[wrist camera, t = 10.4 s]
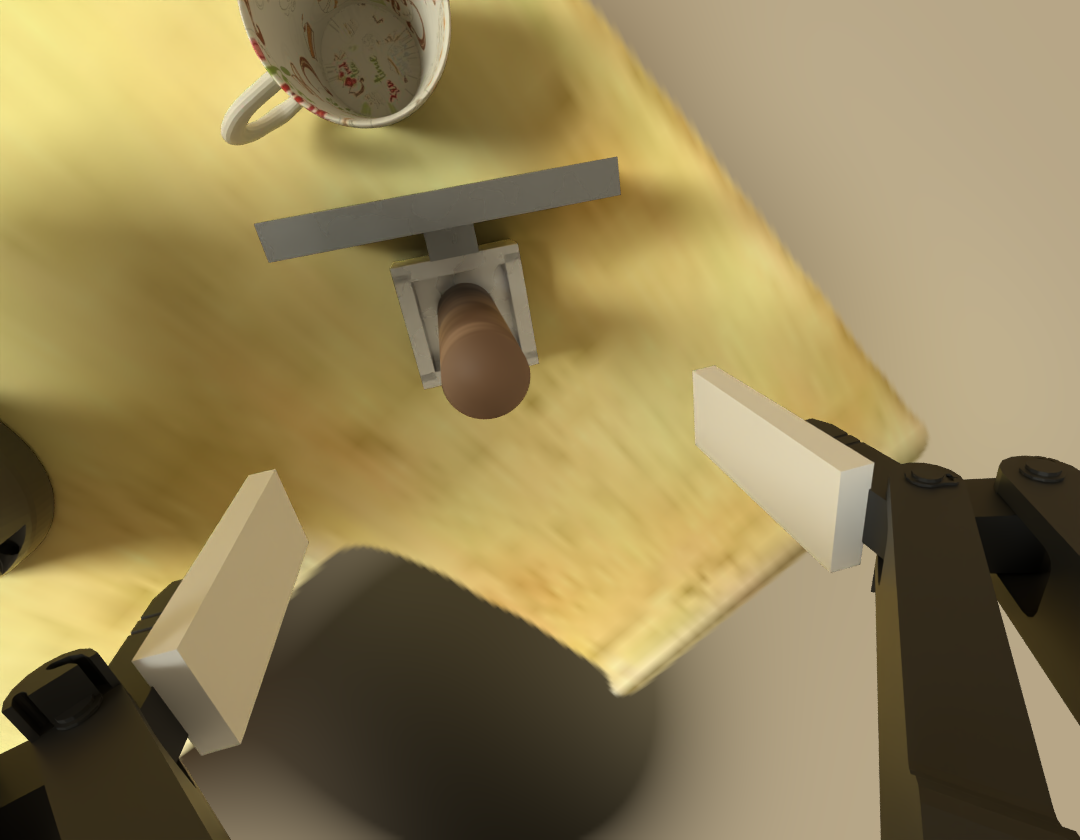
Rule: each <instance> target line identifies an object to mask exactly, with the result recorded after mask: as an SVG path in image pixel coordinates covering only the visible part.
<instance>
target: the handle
mask: <svg viewBox="0 0 1080 840" xmlns="http://www.w3.org/2000/svg"><path fill="white" fill-rule="evenodd" d="M437 314H438V332H439V349H440V367H441V383H442V388H443V391H444V394H445V396H446V398H447V399H448V401H449V402H450V404H451V405H452V406H453V407H454V408H455V409H457V410H458V411H459V412H461V413H463V414H465V415H467V416H469V417H473V418H477V419H492V418H497V417H500V416H503V415H505V414H507V413H509V412H510V411H512V410H513V409H514V408H516V407H517V406H518V405H519V404H520V402H521V401H522V400H523V398H524V397H525V395H526V393H527V391H528V387H529V384H530V368H529V364H528V361H527V359H526V357H525V355H524V353H523V352H522V350H521V348H520V346H519V345H518V343H517V341H516V339H515V338H514V336H513V334H512V332H511V331H510V329H509V327H508V325H507V324H506V322H505V320H504V318H503V317H502V315H501V313H500V311H499V310H498V308H497V306H496V304H495V303H494V301H493V299H492V297H491V296H490V294H489V293H488V292H487V291H486V290H485V289H484V288H482V287H480V286H479V285H476V284H473V283H459V284H456V285H453V286H452V287H450V288H449V289H447V290H446V291H445V292H444V293H443V295H442V296H441V298H440V300H439V303H438V308H437Z"/></svg>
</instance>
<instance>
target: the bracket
mask: <svg viewBox="0 0 1080 840" xmlns="http://www.w3.org/2000/svg"><path fill="white" fill-rule="evenodd" d="M617 195H621V192H620V181H619V170H618V159H617V157H612V158H607V159H601V160H596V161H590V162H585V163H579V164H574V165H568V166H563V167H557V168H552V169H547V170H541V171H536V172H530V173H525V174H520V175H514V176H509V177H503V178H498V179H493V180H487V181H482V182H476V183H471V184H466V185H460V186H455V187H449V188H444V189H438V190H433V191H428V192H422V193H417V194H411V195H406V196H401V197H395V198H390V199H384V200H379V201H374V202H368V203H363V204H357V205H352V206H347V207H341V208H336V209H330V210H325V211H320V212H314V213H309V214H304V215H298V216H293V217H288V218H282V219H277V220H272V221H266V222H261V223H256V224H254V226H255V228H256V231H257V233H258V236H259V239H260V241H261V244H262V246H263V249H264V252H265V254H266V257H267V259H268V262H269V263H270V262H275V261H281V260H286V259H291V258H296V257H301V256H306V255H312V254H317V253H322V252H327V251H332V250H337V249H343V248H348V247H353V246H358V245H363V244H369V243H374V242H379V241H384V240H389V239H394V238H400V237H405V236H410V235H415V234H420V233H423V234H424V238H425V242H426V246H427V250H428V254H429V255H426V256H421V257H416V258H411V259H406V260H400V261H395V262H393V264H392V266H391V268H390V272H391V275H392V279H393V282H394V286H395V289H396V293H397V296H398V300H399V303H400V307H401V310H402V314H403V317H404V321H405V324H406V328H407V331H408V335H409V338H410V342H411V345H412V349H413V352H414V356H415V359H416V363H417V366H418V370H419V373H420V377H421V380H422V384H423V387H424V389H428V388H432V387H437V386H441V385H442V383H441V367H440V349H439V332H438V314H437V308H438V303H439V300H440V298H441V296H442V295H443V293H444V292H445V291H446V290H447V289H449V288H450V287H452V286H453V285H456V284H459V283H473V284H476V285H479V286H480V287H482V288H484V289H485V290H486V291H487V292H488V293H489V294H490V296H491V297H492V299H493V301H494V303H495V304H496V306H497V308H498V310H499V311H500V313H501V315H502V317H503V318H504V320H505V322H506V324H507V325H508V327H509V329H510V331H511V332H512V334H513V336H514V338H515V339H516V341H517V343H518V345H519V346H520V348H521V350H522V352H523V353H524V355H525V357H526V359H527V361H528V364H529V366H530V365H534V364H539V361H538V355H537V349H536V344H535V338H534V332H533V327H532V321H531V315H530V310H529V304H528V298H527V293H526V287H525V281H524V276H523V270H522V264H521V259H520V253H519V247H518V243H516V242H514V241H513V240H511V239H507V240H501V241H496V242H491V243H486V244H481V245H478V244H477V239H476V234H475V230H474V225H473V223H477V222H482V221H487V220H493V219H498V218H503V217H508V216H513V215H519V214H524V213H529V212H534V211H539V210H544V209H550V208H555V207H560V206H565V205H570V204H575V203H581V202H586V201H591V200H596V199H601V198H606V197H612V196H617Z"/></svg>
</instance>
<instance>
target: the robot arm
mask: <svg viewBox="0 0 1080 840" xmlns="http://www.w3.org/2000/svg"><path fill="white" fill-rule="evenodd" d="M693 396H694V423H695V445H696V446H697V447H698V448H699V449H700V450H701V451H702V452H703V453H704V454H705V455H706V456H708V457H709V458H710V459H711V460H712V461H713V462H714V463H715V464H716V465H717V466H718V467H719V468H720V469H721V470H722V471H723V472H724V473H725V474H726V475H727V476H729V477H730V478H731V479H732V480H733V481H734V482H735V483H736V484H737V485H738V486H739V487H740V488H741V489H742V490H743V491H744V492H745V493H746V494H747V495H749V496H750V497H751V498H752V499H753V500H754V501H755V502H756V503H757V504H758V505H759V506H760V507H761V508H762V509H763V510H764V511H765V512H766V513H767V514H768V515H770V516H771V517H772V518H773V519H774V520H775V521H776V522H777V523H778V524H779V525H780V526H781V527H782V528H783V529H784V530H785V531H786V532H787V533H788V534H790V535H791V536H792V537H793V538H794V539H795V540H796V541H797V542H798V543H799V544H800V545H801V546H802V547H803V548H804V549H805V550H806V551H807V552H808V553H810V554H811V555H812V556H813V557H814V558H815V559H816V560H817V561H818V562H819V563H820V564H821V565H822V566H823V567H824V568H825V569H826V570H828V572H830V573H832V572H836V571H840V570H843V569H846V568H850V567H853V566H857V565H860V563H861V556H862V548H863V543H864V544H865V545H866V546H868V547H869V548H870V549H871V550H873V551H874V552H875V553H876V554H877V556H876V563H875V569H874V575H873V582H872V588H871V592H875V595H876V637H877V638H876V639H877V683H878V685H877V687H878V731H879V778H880V821H881V840H1080V837H1079V835H1078V834H1077V832H1076V831H1073V830H1070V829H1068V828H1065V827H1062V826H1061V824H1060V823H1059V821H1058V820H1057V817H1056V814H1055V812H1054V809H1053V805H1052V802H1051V798H1050V794H1049V791H1048V787H1047V783H1046V779H1045V776H1044V772H1043V768H1042V765H1041V761H1040V758H1039V753H1038V750H1037V746H1036V742H1035V739H1034V735H1033V731H1032V728H1031V724H1030V720H1029V717H1028V713H1027V709H1026V705H1025V702H1024V698H1023V694H1022V690H1021V687H1020V683H1019V679H1018V676H1017V672H1016V668H1015V665H1014V661H1013V657H1012V653H1011V650H1010V646H1009V642H1008V639H1007V635H1006V632H1005V627H1004V624H1003V620H1002V617H1001V613H1000V609H999V605H998V602H999V604H1000V605H1001V607H1002V608H1003V610H1004V611H1005V612H1006V614H1007V616H1008V617H1009V619H1010V620H1011V622H1012V623H1013V625H1014V626H1015V628H1016V629H1017V631H1018V632H1019V634H1020V635H1021V637H1022V639H1023V640H1024V642H1025V643H1026V645H1027V646H1028V648H1029V649H1030V651H1031V652H1032V654H1033V655H1034V657H1035V658H1036V660H1037V661H1038V663H1039V664H1040V666H1041V667H1042V669H1043V670H1044V672H1045V673H1046V675H1047V677H1048V678H1049V680H1050V681H1051V683H1052V684H1053V686H1054V687H1055V689H1056V690H1057V692H1058V693H1059V695H1060V696H1061V698H1062V699H1063V701H1064V702H1065V704H1066V705H1067V707H1068V708H1069V710H1070V712H1071V713H1072V715H1073V716H1074V718H1075V719H1076V720H1077V722H1078V724H1079V725H1080V471H1079V470H1078V469H1076V468H1074V467H1073V466H1071V465H1068V464H1065V463H1063V462H1060V461H1058V460H1055V459H1051V458H1046V457H1041V456H1016V457H1010V458H1007V459H1005V460H1002V462H1001V464H1000V465H999V469H998V472H997V476H996V478H989V479H988V478H987V479H967V480H963V479H962V477H961V476H959V475H958V474H956V473H955V472H953V471H951V470H949V469H946V468H943V467H941V466H938V465H932V464H927V463H905V464H900V463H898V462H896V461H895V460H893V459H891V458H889V457H888V456H886V455H884V454H882V453H881V452H879V451H877V450H876V449H874V448H872V447H870V446H869V445H867V444H865V443H863V442H862V443H861V442H860V440H858V439H857V438H855V437H853V436H851V435H848V434H847V433H846V432H844V431H843V430H841V429H839V428H838V427H836V426H834V425H832V424H829V423H826V422H822V421H819V420H816V419H808V420H803V419H802V418H800V417H798V416H797V415H795V414H793V413H792V412H790V411H788V410H787V409H785V408H784V407H782V406H780V405H779V404H777V403H775V402H774V401H772V400H770V399H769V398H767V397H766V396H764V395H762V394H761V393H759V392H757V391H756V390H754V389H752V388H751V387H749V386H748V385H746V384H744V383H743V382H741V381H739V380H738V379H736V378H734V377H733V376H731V375H729V374H728V373H726V372H725V371H723V370H721V369H720V368H718V367H716V366H710V367H706V368H702V369H698V370H693ZM53 515H54V497H53V491H52V487H51V484H50V481H49V479H48V476H47V474H46V472H45V470H44V468H43V466H42V465H41V463H40V462H39V460H38V459H37V457H36V456H35V454H34V453H33V452H32V451H31V450H30V448H29V447H28V446H27V445H26V444H25V443H24V442H23V441H22V440H21V439H20V438H19V437H18V436H17V435H16V434H15V433H14V432H13V431H11V430H10V429H9V428H8V427H6V426H5V425H4V424H2V423H1V422H0V578H1V577H2V576H4V575H5V574H7V573H8V572H10V571H11V570H12V569H13V568H15V567H16V566H17V565H18V564H19V563H20V562H21V561H22V560H23V559H25V558H26V557H27V556H28V555H29V554H30V553H31V552H32V551H33V550H35V549H36V548H37V547H38V545H39V544H40V543H41V542H42V541H43V539H44V538H45V536H46V535H47V533H48V531H49V529H50V526H51V523H52V520H53ZM308 543H309V542H308V540H307V537H306V535H305V533H304V531H303V529H302V526H301V524H300V522H299V520H298V518H297V515H296V513H295V511H294V509H293V507H292V504H291V502H290V500H289V498H288V496H287V493H286V491H285V489H284V487H283V485H282V482H281V480H280V478H279V476H278V474H277V471H276V469H273V470H268V471H264V472H260V473H256V474H251V475H248V477H247V478H246V480H245V482H244V483H243V485H242V486H241V488H240V490H239V491H238V493H237V494H236V496H235V498H234V499H233V501H232V502H231V504H230V505H229V507H228V509H227V510H226V512H225V513H224V515H223V517H222V518H221V520H220V521H219V523H218V525H217V526H216V528H215V529H214V531H213V532H212V534H211V536H210V537H209V539H208V540H207V542H206V544H205V545H204V547H203V548H202V550H201V552H200V553H199V555H198V556H197V558H196V559H195V561H194V563H193V564H192V566H191V567H190V569H189V571H188V572H187V574H186V575H185V577H184V579H182V580H178V581H174V582H172V583H171V584H169V585H168V586H167V587H166V588H165V589H164V590H163V591H162V592H161V593H160V594H158V595H157V596H156V597H155V598H154V599H153V600H152V602H151V603H150V605H149V606H148V608H147V609H146V611H145V612H144V614H143V615H142V617H141V620H140V621H138V623H137V624H136V625H135V627H134V628H133V630H132V631H131V635H130V636H128V637H127V639H126V640H125V642H124V643H123V645H122V646H121V648H120V649H119V651H118V652H117V654H116V655H115V657H114V658H113V660H112V661H111V663H110V664H109V666H108V665H107V664H106V663H105V662H104V660H103V659H102V658H101V656H100V655H99V654H98V653H97V652H96V651H94V650H93V649H91V648H90V649H78V650H74V651H71V652H68V653H65V654H62V655H60V656H58V657H57V658H55V659H53V660H51V661H49V662H47V663H45V664H43V665H42V666H40V667H39V668H38V669H36V670H35V671H33V672H32V673H30V674H29V675H27V676H26V677H25V678H24V679H23V680H22V681H21V682H20V683H19V684H18V685H17V686H15V687H14V688H13V689H12V691H11V692H10V693H9V695H8V696H7V698H6V699H5V700H4V702H3V707H2V713H3V714H4V715H5V716H6V717H7V718H8V719H9V720H10V721H11V723H12V724H13V725H14V726H15V727H16V728H17V729H18V730H19V731H20V732H21V733H22V734H23V735H24V736H25V737H26V738H27V739H28V740H29V741H26V742H24V743H22V744H20V745H18V746H16V747H14V748H12V749H10V750H8V751H6V752H4V753H2V754H0V840H231V839H230V837H229V836H228V834H227V832H226V831H225V829H224V828H223V826H222V824H221V823H220V821H219V820H218V818H217V816H216V815H215V813H214V811H213V810H212V808H211V807H210V805H209V803H208V802H207V800H206V799H205V797H204V795H203V794H202V792H201V790H200V789H199V787H198V785H197V784H196V782H195V781H194V779H193V777H192V776H191V775H190V773H189V771H188V769H187V768H186V766H185V765H184V764H183V763H182V761H181V760H180V759H179V756H180V754H181V751H182V749H183V747H184V745H185V742H186V740H187V738H189V740H190V741H191V743H192V744H193V745H194V747H195V748H196V749H197V751H198V752H199V753H200V755H205V754H208V753H212V752H215V751H219V750H222V749H225V748H229V747H233V746H236V745H239V744H241V741H242V738H243V736H244V733H245V730H246V727H247V724H248V721H249V718H250V715H251V712H252V709H253V706H254V703H255V700H256V697H257V694H258V691H259V688H260V685H261V682H262V679H263V676H264V673H265V671H266V667H267V664H268V662H269V659H270V656H271V653H272V650H273V647H274V644H275V641H276V638H277V635H278V632H279V629H280V626H281V623H282V620H283V617H284V614H285V611H286V608H287V605H288V602H289V600H290V597H291V594H292V591H293V588H294V585H295V582H296V579H297V576H298V573H299V570H300V567H301V564H302V561H303V558H304V555H305V552H306V549H307V546H308ZM997 600H998V602H997Z"/></svg>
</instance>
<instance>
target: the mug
mask: <svg viewBox="0 0 1080 840" xmlns="http://www.w3.org/2000/svg"><path fill="white" fill-rule="evenodd" d="M238 5H239V10H240V14H241V18H242V21H243V24H244V27H245V30H246V33H247V35H248V38H249V40H250V42H251V44H252V46H253V48H254V50H255V52H256V54H257V56H258V58H259V59H260V61H261V63H262V64H263V66H264V67H265V69H266V70H267V72H266V73H264V74H263V75H262V76H261V77H260V78H259V79H258V80H256V81H255V82H254V83H253V84H252V85H251V86H250V87H248V88H247V89H246V90H245V91H244V92H243V93H242V94H241V95H240V96H239V97H238V98H237V99H236V100H235V101H234V102H233V104H232V105H231V106H230V108H229V109H228V111H227V112H226V114H225V116H224V119H223V121H222V125H221V135H222V137H223V139H224V140H225V141H226V142H227V143H229V144H231V145H244V144H247V143H250V142H253V141H256V140H258V139H260V138H261V137H263V136H265V135H266V134H268V133H269V132H271V131H273V130H275V129H276V128H278V127H280V126H282V125H283V124H285V123H286V122H288V121H289V120H290V119H291V118H292V117H293V116H294V115H295V114H296V113H297V112H298V111H299V110H300V109H301V108H302V107H304V108H306V109H307V110H309V111H310V112H312V113H314V114H315V115H317V116H319V117H321V118H323V119H326V120H328V121H331V122H333V123H336V124H340V125H344V126H348V127H354V128H377V127H383V126H387V125H391V124H394V123H396V122H399V121H401V120H403V119H405V118H406V117H408V116H410V115H411V114H412V113H414V112H415V111H416V110H417V109H419V108H420V107H421V106H422V105H423V104H424V103H425V101H426V100H427V99H428V98H429V96H430V95H431V94H432V92H433V91H434V89H435V88H436V86H437V84H438V82H439V80H440V78H441V76H442V74H443V71H444V68H445V65H446V62H447V58H448V53H449V48H450V40H451V11H450V4H449V0H238ZM280 89H283V90H284V91H285V92H286V93H287V94H288V95H289V96H290V97H289V98H288V99H287V100H285V101H284V102H282V103H280V104H279V105H277V106H276V107H274V108H273V109H272V110H270V111H269V112H268V113H266V114H265V115H264V116H263V117H261V118H260V119H258V120H256V121H254V122H252V123H249V124H247V123H248V121H249V119H250V118H251V116H252V115H253V114H254V113H255V111H256V110H257V109H259V108H260V107H261V106H262V105H263V104H264V103H265V102H266V101H267V100H269V99H270V98H271V97H272V96H273V95H274V94H276V93H277V92H278V91H279V90H280Z"/></svg>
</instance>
